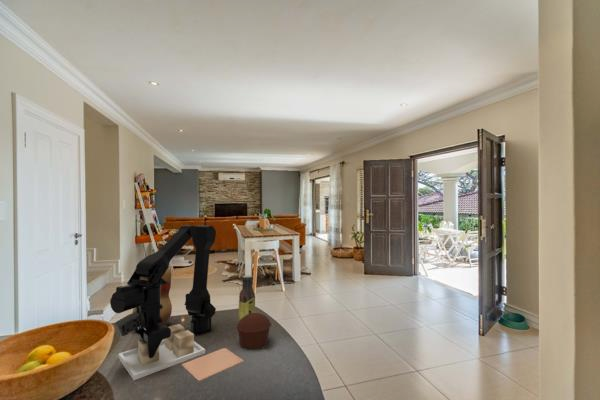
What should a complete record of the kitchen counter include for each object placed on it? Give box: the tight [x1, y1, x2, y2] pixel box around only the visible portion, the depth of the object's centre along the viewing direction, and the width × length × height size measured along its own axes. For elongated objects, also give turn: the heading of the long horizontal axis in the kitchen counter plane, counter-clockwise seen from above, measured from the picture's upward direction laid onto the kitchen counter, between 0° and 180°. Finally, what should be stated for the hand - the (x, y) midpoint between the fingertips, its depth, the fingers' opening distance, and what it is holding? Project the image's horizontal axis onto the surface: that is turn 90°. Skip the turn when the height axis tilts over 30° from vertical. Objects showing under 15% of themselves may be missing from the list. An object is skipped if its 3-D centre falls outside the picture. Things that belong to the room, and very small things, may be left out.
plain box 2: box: [173, 329, 195, 358], centre depth 88 cm, size 4×4×6 cm
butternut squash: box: [131, 265, 173, 325], centre depth 109 cm, size 14×13×25 cm
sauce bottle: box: [237, 274, 256, 323], centre depth 109 cm, size 6×6×20 cm
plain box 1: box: [164, 323, 186, 351], centre depth 93 cm, size 4×4×6 cm
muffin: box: [236, 312, 272, 350], centre depth 96 cm, size 12×11×10 cm
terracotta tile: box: [181, 347, 245, 382], centre depth 83 cm, size 14×11×1 cm
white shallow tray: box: [117, 339, 206, 381], centre depth 87 cm, size 20×16×2 cm
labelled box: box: [137, 339, 159, 366], centre depth 84 cm, size 4×4×6 cm
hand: (148, 354), depth 84 cm, fingers closed on labelled box, 4 cm apart
